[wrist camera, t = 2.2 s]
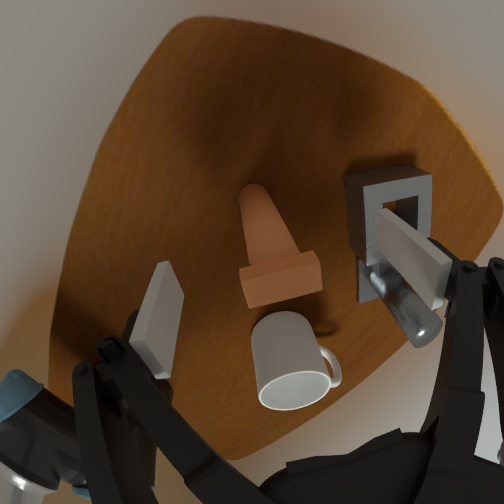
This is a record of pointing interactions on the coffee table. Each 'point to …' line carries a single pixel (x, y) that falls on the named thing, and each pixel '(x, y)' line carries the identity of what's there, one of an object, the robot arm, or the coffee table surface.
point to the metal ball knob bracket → (373, 261)
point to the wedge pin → (273, 254)
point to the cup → (290, 362)
